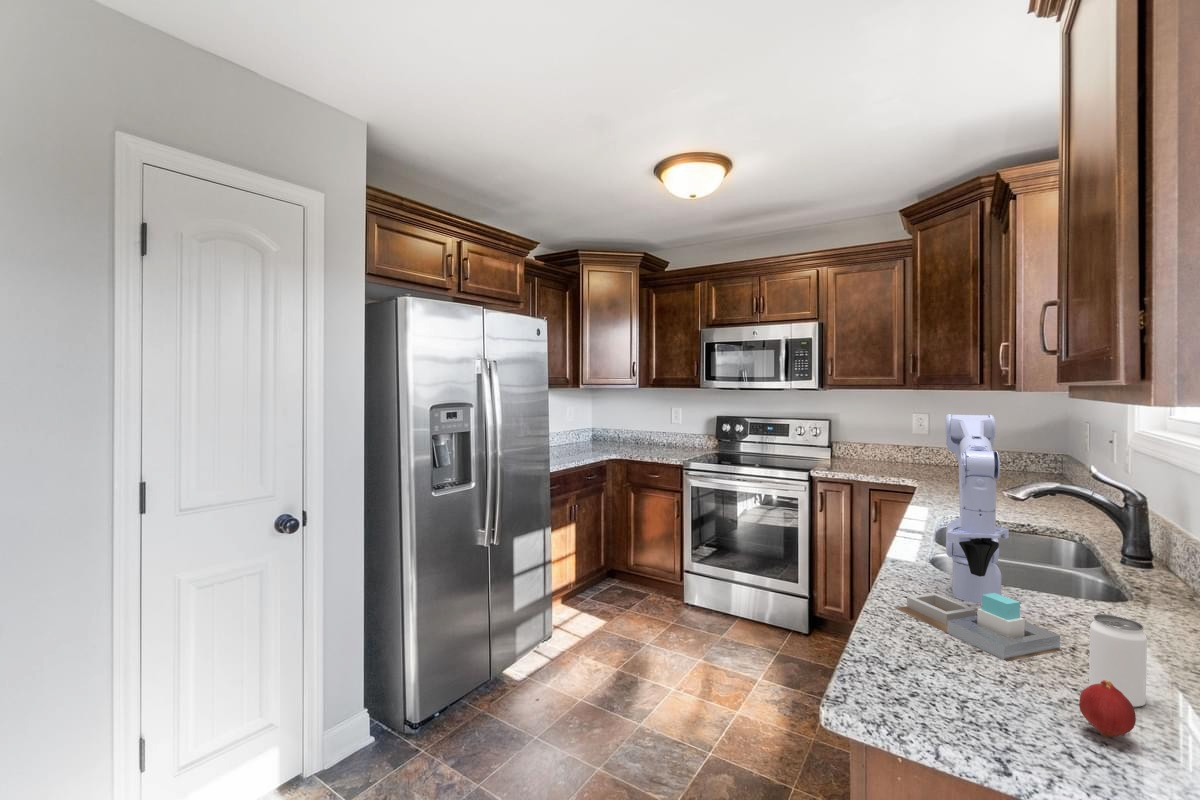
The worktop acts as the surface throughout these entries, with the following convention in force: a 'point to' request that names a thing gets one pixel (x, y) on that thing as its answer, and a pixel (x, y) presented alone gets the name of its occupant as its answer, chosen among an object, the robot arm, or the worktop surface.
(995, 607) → the plug
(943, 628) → the panel board
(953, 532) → the robot arm
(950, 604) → the grey rectangular frame
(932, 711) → the worktop surface
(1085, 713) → the onion
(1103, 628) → the can
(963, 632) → the port
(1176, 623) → the worktop surface
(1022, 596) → the worktop surface
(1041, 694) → the worktop surface
